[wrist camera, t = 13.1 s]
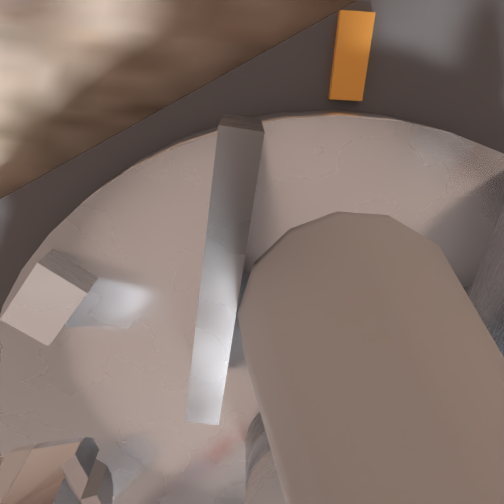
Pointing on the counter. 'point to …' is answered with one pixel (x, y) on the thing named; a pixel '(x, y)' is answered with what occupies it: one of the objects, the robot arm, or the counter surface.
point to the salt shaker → (372, 368)
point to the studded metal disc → (216, 289)
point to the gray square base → (302, 99)
